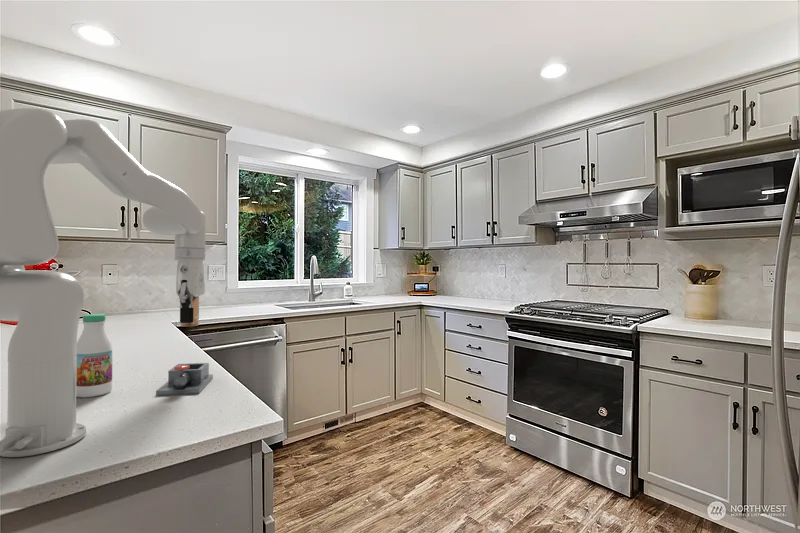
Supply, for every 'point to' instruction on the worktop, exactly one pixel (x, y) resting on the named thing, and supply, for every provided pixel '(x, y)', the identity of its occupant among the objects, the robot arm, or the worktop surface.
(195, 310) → the pipe stub
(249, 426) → the worktop surface
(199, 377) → the block
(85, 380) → the milk bottle
